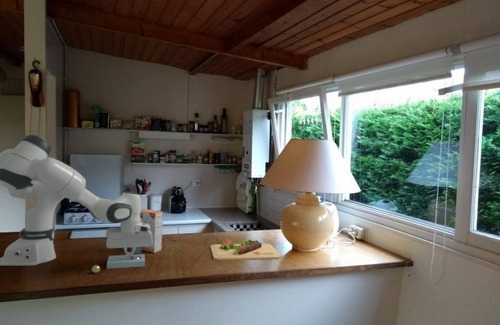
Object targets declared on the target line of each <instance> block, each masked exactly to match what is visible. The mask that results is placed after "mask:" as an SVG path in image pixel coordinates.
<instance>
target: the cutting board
mask: <svg viewBox="0 0 500 325" xmlns="http://www.w3.org/2000/svg"><path fill="white" fill-rule="evenodd" d="M209 248H210V251H211V254H212V259H213V260H215V261H248V260H249V261H251V260H253V261H254V260H279V259H282V255H281V254H280V253H279V252H278V250H276V248H275V247H274V246H273V245H272V244H269V243H262V242H260V241H258V240H252V239H251V238H250V239H248V240H247V241H246V240H242V241H241V243H237V244H236V243H235V244H234V243H232V241H231V240H229V239H228V238H225V239H224V242H223V243H222V244H211V245H210V247H209Z"/></svg>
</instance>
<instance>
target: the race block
mask: <svg viewBox="0 0 500 325" xmlns="http://www.w3.org/2000/svg"><path fill="white" fill-rule="evenodd" d="M132 248H133V247H130V251H129V252H132V250H133V249H132ZM139 254H142V250H141V247H136V250H135V251H134V253H133V255H139Z"/></svg>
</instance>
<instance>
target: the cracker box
mask: <svg viewBox="0 0 500 325" xmlns="http://www.w3.org/2000/svg"><path fill="white" fill-rule="evenodd" d="M163 213H164V212H163V211H159V210H153V209H146V208H141V213H140V218H141V222H142V223H146V224H149V225H150V231H151V233H152V239H153V245H152V246H149V247H141V251H144V252H147V253H151V254H155V253H158V252H162V246H163V245H162V244H163V242H162V241H163V215H164V214H163Z"/></svg>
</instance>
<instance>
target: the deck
mask: <svg viewBox="0 0 500 325" xmlns="http://www.w3.org/2000/svg"><path fill="white" fill-rule="evenodd" d="M136 256H138V257H139V258H140V259H137V260H133V258H134V257H136ZM145 266H146V257H145V253H144V254H143V253H141V254H133V257H126V254H123V255H121V254H119V255H109V256H108V258H107V262H106V270H107V269H109V270H111V269H123V268H137V267H139V268H140V267H141V268H142V267H145Z"/></svg>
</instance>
